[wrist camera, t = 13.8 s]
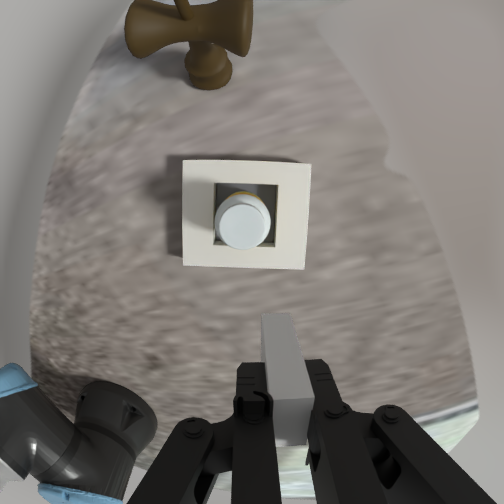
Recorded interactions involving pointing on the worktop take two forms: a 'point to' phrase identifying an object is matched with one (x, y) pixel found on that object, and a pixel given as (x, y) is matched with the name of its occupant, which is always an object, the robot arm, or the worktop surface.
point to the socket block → (260, 183)
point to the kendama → (193, 34)
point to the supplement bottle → (242, 221)
